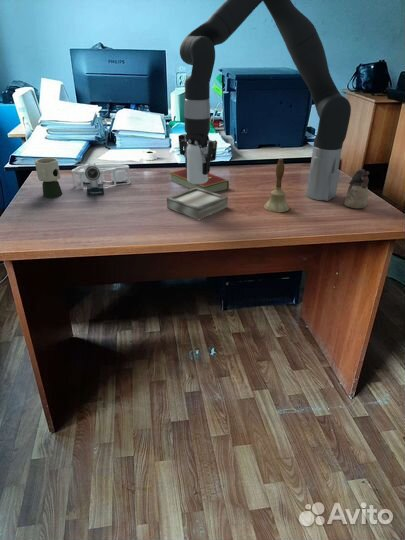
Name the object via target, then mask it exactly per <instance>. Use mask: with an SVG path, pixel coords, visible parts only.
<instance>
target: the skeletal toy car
mask: <svg viewBox="0 0 405 540" xmlns="http://www.w3.org/2000/svg"><path fill="white" fill-rule="evenodd" d="M96 165H97V167H98V169H99V171H100V172H101V176H100V177H99V182H98V184H102V182H104V183H113V184H103V187H104V189H108V188H112V187H117V186H118V185H119V186H121V185H130V184H131V178H130V177H131V176H130V166H129V165H127V164H118V163H117V164H96ZM87 166H88V164H86V165H78V166H77V167H75V168H73V169H71V177H72V182H73V187H74V188H77V183H76V178H75V175H79V180H80V187H81V189H82V190H85V189H86V190H87V187H86V188H85V187H84V186H85V185H84V183H85V184H86V183H89V181H88V179H87V177H86V176H85V171H86V169H87ZM109 173H110V178H111V180H110V181H109V180H105V174H109ZM121 182H124V183H121ZM89 184H90V183H89ZM105 186H106V187H105Z"/></svg>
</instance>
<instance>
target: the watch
mask: <svg viewBox="0 0 405 540" xmlns="http://www.w3.org/2000/svg"><path fill="white" fill-rule="evenodd" d="M87 165H88V166H87V169H86V171H85V176H86V177H87V179H88V181H89V184H87V185H86V188H87V189H86V194H87V196H98V195H99V196H100V195H102V196H103V195H104V194H105V190H104V189H105V188H104V187H105V186H103V185H104V183H101V184H98V182H99V177H101V176H102V174H101V172H100V171H99V169H98V167H97V165H98V164H96V163H88V164H87Z"/></svg>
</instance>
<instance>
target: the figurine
mask: <svg viewBox="0 0 405 540" xmlns="http://www.w3.org/2000/svg"><path fill="white" fill-rule="evenodd" d="M369 175H370V171H368V170H367V171H366V170H365V169H364V168H363V169H361V168H360V169H358V170H357V171H356V172H354V175H353V176H352V177H351V180H350V181H349V183H348V184H349V186H348V188H347V192H346V194H345V197H344V200H343V204H344V206H345V207H348V208H351V209H363V208H366V206H367V204H368V199H369V197H368V196H369V190H368V185H369V181H370V180H369V177H368V176H369Z"/></svg>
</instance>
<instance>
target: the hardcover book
mask: <svg viewBox="0 0 405 540" xmlns="http://www.w3.org/2000/svg"><path fill="white" fill-rule="evenodd" d="M168 174H170V175H169V177H170V181H172V182H175V183H176V184H178V185H181V186H183V187H184V188H186V189H188V190H190V189H193V188H195V187H197V188H200V189H204V190H207V191H210V192H213V193H216V192H220V191H224V190H229V189H230V183H229V182H230V181H229V179H225V178H223V177H220V176H218V175H215V174H213V173H210V172H209V173H208V181H207V182H206V183H205V184H200V185H195V184H190V183H189V182H188V181H187V170H186V168H183V169H178V170H173V171H170V172H168Z"/></svg>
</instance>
